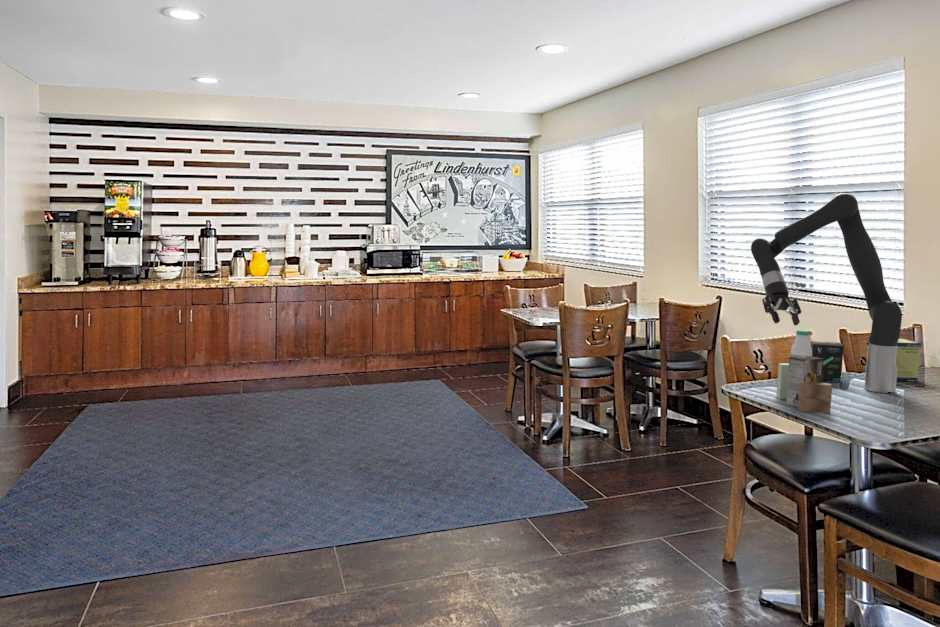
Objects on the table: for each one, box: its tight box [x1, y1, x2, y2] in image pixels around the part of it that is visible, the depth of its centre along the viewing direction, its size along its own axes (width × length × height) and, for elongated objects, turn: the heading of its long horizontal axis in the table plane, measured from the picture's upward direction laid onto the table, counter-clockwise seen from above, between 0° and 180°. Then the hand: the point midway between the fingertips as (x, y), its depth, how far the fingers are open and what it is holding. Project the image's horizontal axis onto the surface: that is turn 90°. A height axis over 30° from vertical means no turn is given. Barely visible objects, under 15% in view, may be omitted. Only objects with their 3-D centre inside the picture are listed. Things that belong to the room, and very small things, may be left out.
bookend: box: [775, 362, 789, 400], centre depth 250 cm, size 8×3×12 cm, turn 87°
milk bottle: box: [789, 329, 812, 358], centre depth 278 cm, size 8×8×20 cm
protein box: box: [895, 338, 922, 381], centre depth 289 cm, size 10×16×16 cm
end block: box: [797, 382, 833, 413], centre depth 232 cm, size 9×3×9 cm, turn 87°
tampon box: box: [810, 340, 844, 383], centre depth 284 cm, size 11×9×15 cm
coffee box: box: [786, 356, 823, 408], centre depth 240 cm, size 9×6×16 cm
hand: (787, 323), depth 263 cm, fingers open, 8 cm apart
